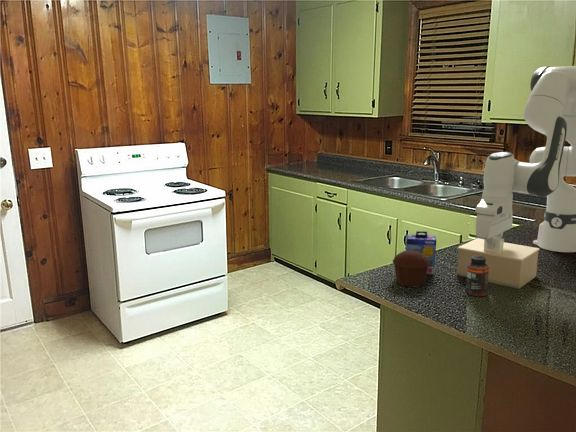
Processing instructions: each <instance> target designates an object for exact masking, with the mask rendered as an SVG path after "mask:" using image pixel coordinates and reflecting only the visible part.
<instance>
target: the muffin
mask: <svg viewBox="0 0 576 432" xmlns="http://www.w3.org/2000/svg"><path fill="white" fill-rule="evenodd" d="M392 264H393V265H394V272H395V279H396V282H397V284H399V285H401V286H404V287H414V286H415V287H417V286H418V287H421V286H424V285H425V283H426V278H427V275H428V274H427V270H428V267H429V266H430V262H429V260H428V258H427V257H426V256H425V255H424V254H422V253H420V252H418V251H412V250H408V251H406V250H403V251H401V252H399V253H398V254H396V255H395V256H394V258H393V260H392Z"/></svg>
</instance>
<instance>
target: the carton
mask: <svg viewBox="0 0 576 432" xmlns="http://www.w3.org/2000/svg"><path fill="white" fill-rule="evenodd" d="M457 250H458V251H457V252H458V253H457V268H456V269H457V270H456V275H457V276H461V277H466V278H467V270H468V264H469V263H471V262H472V261H471V257H472V256H483V257H485V258H486V262H485V263H486V264H487V265H488V267H489V272H488V283H491V284H497V285H500V286H505V287H509V288H512V289H513V288H514V289H516V290H519V289H521V288H522V287H523V286H525V285H526V284H528V283H530V282H531V281H532V280H534V279H535V278H536V277H537V270H538V260H539V251H538V252H536V253H534V254H533V255H531V256H530V257H528V258H526V259H525V260H523V261H517V260H512V259H506V258H501V257H496V256H491V255H486V254H481V253H476V252H470V251H465V250H460V249H457Z"/></svg>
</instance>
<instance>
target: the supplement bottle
mask: <svg viewBox="0 0 576 432" xmlns="http://www.w3.org/2000/svg"><path fill="white" fill-rule="evenodd" d="M471 261H472V262H471V263H469V264H468V270H467V277H466V290H465V291H466V293H467V294H468V295H470V296H474V297H484V296H486V295H487V294H488V288H489V282H488V272H489V267H488V265H487V264H486V263H485V262H486V258H485V257H483V256H472V257H471Z"/></svg>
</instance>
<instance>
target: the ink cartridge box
mask: <svg viewBox="0 0 576 432" xmlns="http://www.w3.org/2000/svg"><path fill="white" fill-rule="evenodd" d="M408 250H412V251H418V252H420V253H422V254H424V255H425V256H426V257H427V258H428V260H429V262H430V266H429V267H428V270H427V275H435V274H436V273H435V270H436V255H437V253H436V251H437V237H436V235H428V231H424V230H422V231H420V230H419V231H418V230H417V231H415V234H406V237H405V251H408Z"/></svg>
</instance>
